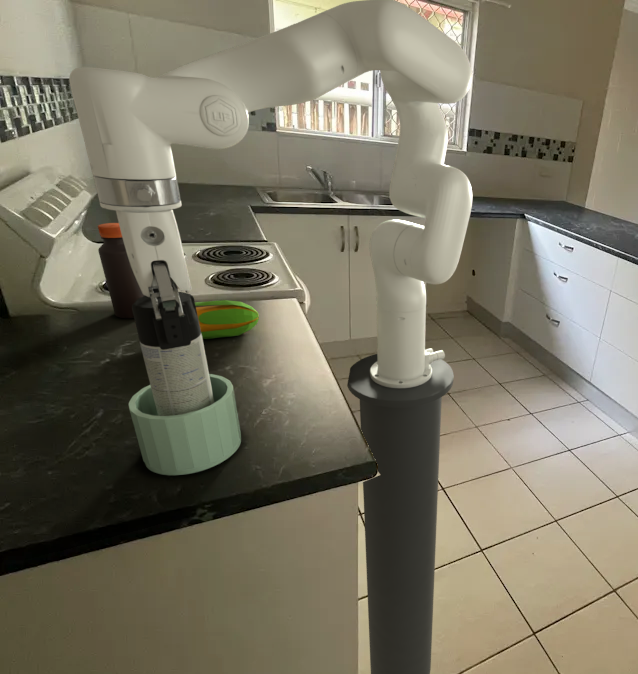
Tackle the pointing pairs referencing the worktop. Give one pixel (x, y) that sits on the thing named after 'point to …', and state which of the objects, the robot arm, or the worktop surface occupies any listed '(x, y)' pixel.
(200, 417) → the cup
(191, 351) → the spray can
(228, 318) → the corn
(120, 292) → the bottle
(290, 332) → the worktop surface
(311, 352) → the worktop surface
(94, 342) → the worktop surface
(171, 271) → the robot arm
